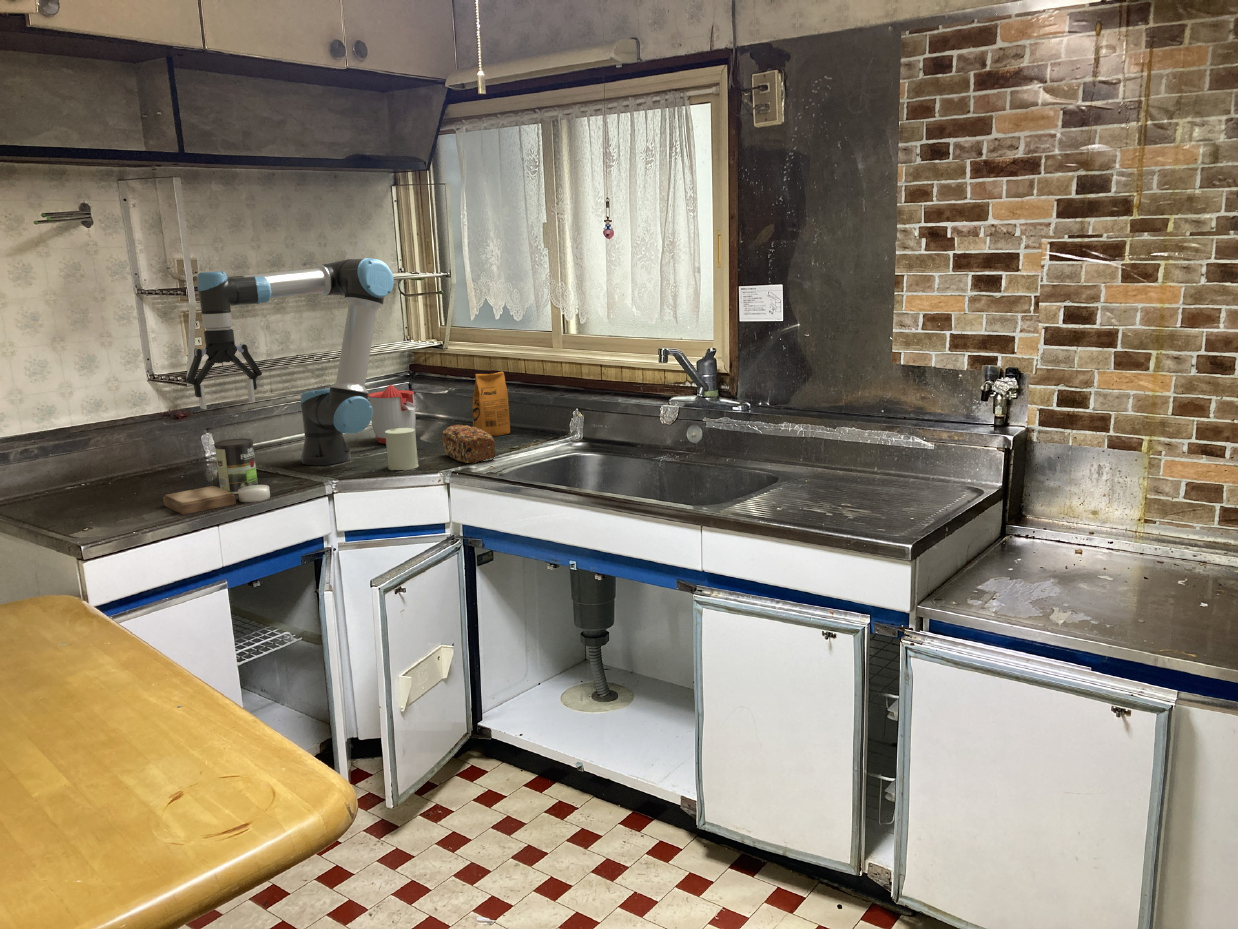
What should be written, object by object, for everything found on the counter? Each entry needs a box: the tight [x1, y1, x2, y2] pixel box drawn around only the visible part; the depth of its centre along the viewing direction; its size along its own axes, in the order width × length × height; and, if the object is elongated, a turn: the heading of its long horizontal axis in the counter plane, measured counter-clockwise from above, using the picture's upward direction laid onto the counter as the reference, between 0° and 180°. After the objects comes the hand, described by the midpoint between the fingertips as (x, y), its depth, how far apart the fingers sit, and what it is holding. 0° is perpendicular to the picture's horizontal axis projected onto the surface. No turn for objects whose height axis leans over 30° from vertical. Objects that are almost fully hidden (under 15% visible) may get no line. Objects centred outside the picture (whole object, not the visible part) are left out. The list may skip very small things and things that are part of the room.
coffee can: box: [213, 437, 259, 495], centre depth 275 cm, size 10×10×14 cm
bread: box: [441, 424, 497, 464], centre depth 307 cm, size 19×11×10 cm, turn 33°
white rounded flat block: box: [237, 484, 271, 503], centre depth 266 cm, size 8×8×3 cm
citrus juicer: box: [368, 384, 417, 445], centre depth 336 cm, size 16×17×20 cm
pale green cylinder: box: [385, 428, 420, 471], centre depth 297 cm, size 9×9×12 cm
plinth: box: [162, 485, 237, 516], centre depth 261 cm, size 14×14×3 cm
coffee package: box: [472, 371, 511, 437], centre depth 343 cm, size 10×12×22 cm
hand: (228, 405), depth 271 cm, fingers open, 13 cm apart
